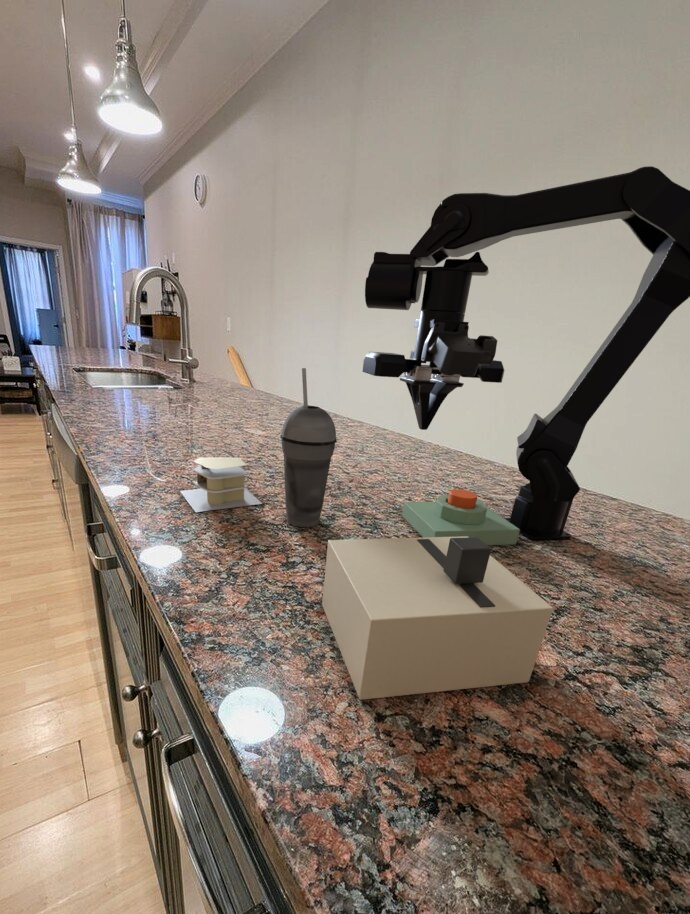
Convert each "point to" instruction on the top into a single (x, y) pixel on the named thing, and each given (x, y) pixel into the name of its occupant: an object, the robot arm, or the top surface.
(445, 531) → the block
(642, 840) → the top surface
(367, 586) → the beige slider box
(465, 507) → the button
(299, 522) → the beverage cup
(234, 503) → the stacked layers on plate
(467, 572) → the toaster slider
